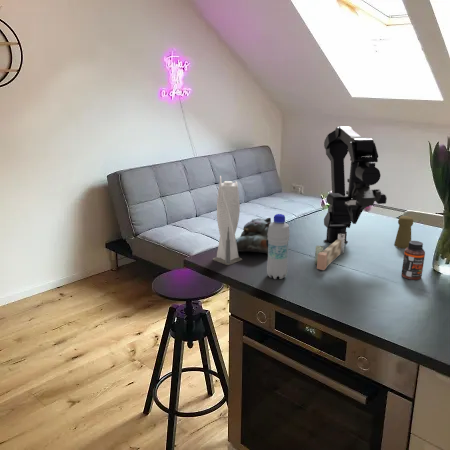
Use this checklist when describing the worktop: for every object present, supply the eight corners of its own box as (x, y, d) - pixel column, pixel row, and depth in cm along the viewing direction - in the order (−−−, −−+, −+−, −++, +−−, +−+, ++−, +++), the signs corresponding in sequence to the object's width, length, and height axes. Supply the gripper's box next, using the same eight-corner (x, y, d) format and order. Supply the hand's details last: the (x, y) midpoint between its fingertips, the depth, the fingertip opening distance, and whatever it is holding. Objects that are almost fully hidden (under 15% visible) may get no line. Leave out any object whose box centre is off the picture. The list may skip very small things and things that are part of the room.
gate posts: (313, 264, 166) (314, 244, 164) (338, 251, 178) (340, 232, 176) (319, 266, 165) (321, 245, 163) (344, 253, 177) (346, 234, 174)
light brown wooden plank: (334, 252, 175) (335, 239, 174) (341, 254, 174) (342, 240, 173) (316, 268, 161) (317, 254, 160) (324, 270, 160) (325, 255, 159)
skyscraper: (209, 258, 170) (209, 177, 162) (226, 252, 176) (226, 173, 167) (228, 265, 165) (229, 181, 156) (244, 258, 170) (246, 177, 162)
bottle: (289, 273, 158) (292, 212, 152) (285, 282, 152) (288, 218, 146) (268, 271, 160) (271, 210, 154) (263, 279, 154) (265, 216, 148)
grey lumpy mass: (224, 250, 177) (231, 212, 180) (251, 257, 184) (257, 220, 186) (251, 251, 165) (258, 209, 168) (278, 258, 172) (285, 218, 174)
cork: (412, 249, 181) (416, 219, 178) (395, 247, 182) (398, 218, 179) (410, 243, 187) (413, 215, 183) (393, 242, 188) (396, 214, 185)
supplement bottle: (411, 282, 153) (416, 247, 150) (397, 275, 158) (401, 241, 155) (425, 278, 156) (430, 244, 153) (410, 271, 161) (415, 238, 158)
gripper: (342, 184, 153) (338, 233, 158) (398, 182, 157) (392, 229, 162) (327, 176, 163) (323, 222, 168) (380, 174, 167) (375, 219, 172)
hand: (354, 223), depth 167 cm, fingers closed
